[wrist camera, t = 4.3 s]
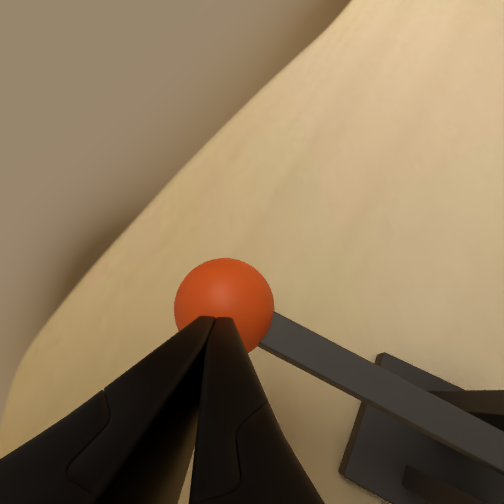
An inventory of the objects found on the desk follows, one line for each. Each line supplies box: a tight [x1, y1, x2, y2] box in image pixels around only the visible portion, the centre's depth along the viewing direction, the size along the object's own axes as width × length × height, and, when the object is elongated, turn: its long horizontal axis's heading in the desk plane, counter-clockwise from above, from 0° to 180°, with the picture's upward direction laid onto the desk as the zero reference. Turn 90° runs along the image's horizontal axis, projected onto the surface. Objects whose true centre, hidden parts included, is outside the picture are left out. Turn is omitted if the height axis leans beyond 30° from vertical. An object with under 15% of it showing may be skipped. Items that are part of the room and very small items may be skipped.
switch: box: [174, 258, 504, 476], centre depth 11 cm, size 16×3×3 cm, turn 64°
